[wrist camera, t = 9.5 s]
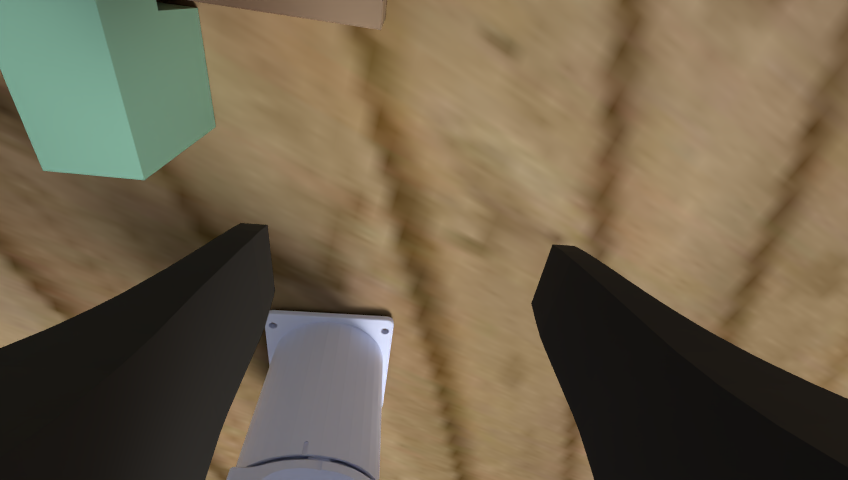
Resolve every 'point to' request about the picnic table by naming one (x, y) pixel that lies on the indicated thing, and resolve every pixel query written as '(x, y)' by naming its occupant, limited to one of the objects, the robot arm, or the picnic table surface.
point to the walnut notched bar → (318, 10)
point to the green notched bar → (106, 82)
